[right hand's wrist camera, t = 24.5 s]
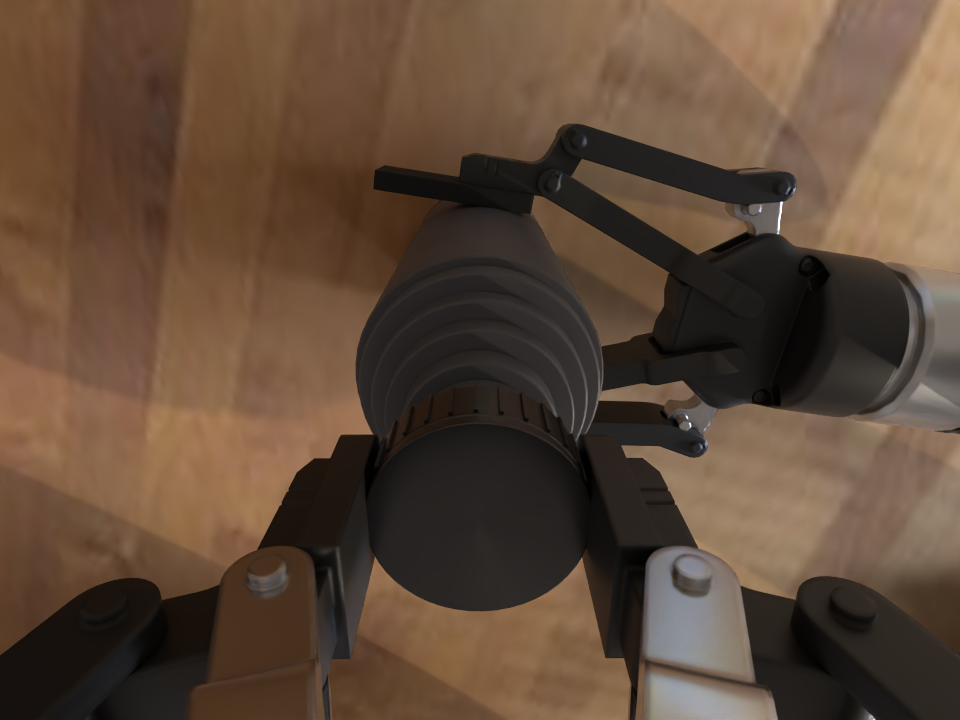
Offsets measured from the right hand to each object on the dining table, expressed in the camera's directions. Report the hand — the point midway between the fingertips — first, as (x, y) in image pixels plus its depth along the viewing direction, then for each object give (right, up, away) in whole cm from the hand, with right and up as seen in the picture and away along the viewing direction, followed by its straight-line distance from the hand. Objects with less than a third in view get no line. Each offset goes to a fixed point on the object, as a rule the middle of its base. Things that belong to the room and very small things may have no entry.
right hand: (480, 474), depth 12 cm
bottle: (0, +8, +21) cm, 23 cm away
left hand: (-5, +7, +14) cm, 17 cm away
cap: (0, -1, -1) cm, 1 cm away
